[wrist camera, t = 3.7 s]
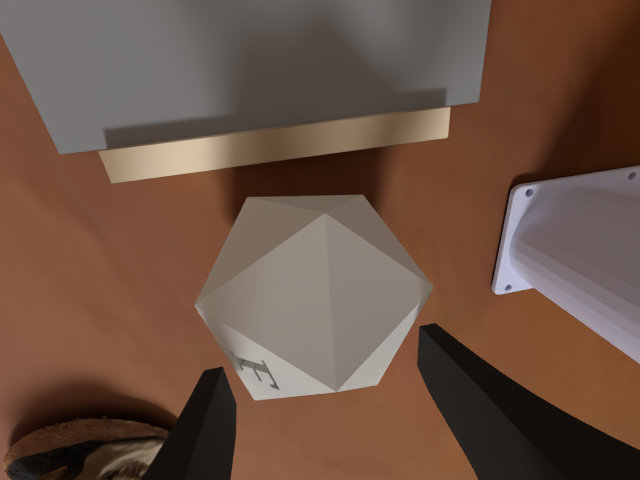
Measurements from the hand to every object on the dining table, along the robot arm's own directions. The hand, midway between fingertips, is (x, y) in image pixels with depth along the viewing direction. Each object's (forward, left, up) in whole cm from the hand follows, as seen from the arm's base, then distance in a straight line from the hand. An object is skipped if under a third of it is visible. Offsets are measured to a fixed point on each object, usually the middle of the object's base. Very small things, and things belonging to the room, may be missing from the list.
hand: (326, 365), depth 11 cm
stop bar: (0, -7, -8) cm, 11 cm away
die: (0, -1, -8) cm, 8 cm away
